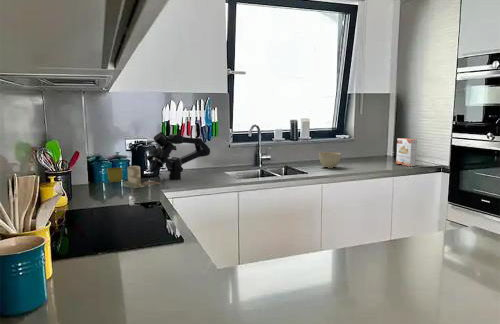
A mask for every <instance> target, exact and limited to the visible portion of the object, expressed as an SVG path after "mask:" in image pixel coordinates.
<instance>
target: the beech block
mask: <svg viewBox="0 0 500 324" xmlns="http://www.w3.org/2000/svg"><path fill="white" fill-rule="evenodd" d="M126 168H127V169H126V170H127V182H131V183H135V187H138V186H141V184H142V178H141V177H142V176H141V175H142V174H141V166H139V165H131V166H130V165H129V166H127V167H126Z"/></svg>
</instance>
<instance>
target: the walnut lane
mask: <svg viewBox="0 0 500 324" xmlns="http://www.w3.org/2000/svg"><path fill="white" fill-rule="evenodd" d="M122 183H123V187H125V188H126V187H127V188H130V189H137V188H138V189H139V188H143V187H145V186H150V185H151V186H156V185H159V184H162V182H158V181H154V180H152V181H145V182H142V183H141V186H138V187H135V183H131V182H128V181H127V180H125V181H123V182H122Z"/></svg>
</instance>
